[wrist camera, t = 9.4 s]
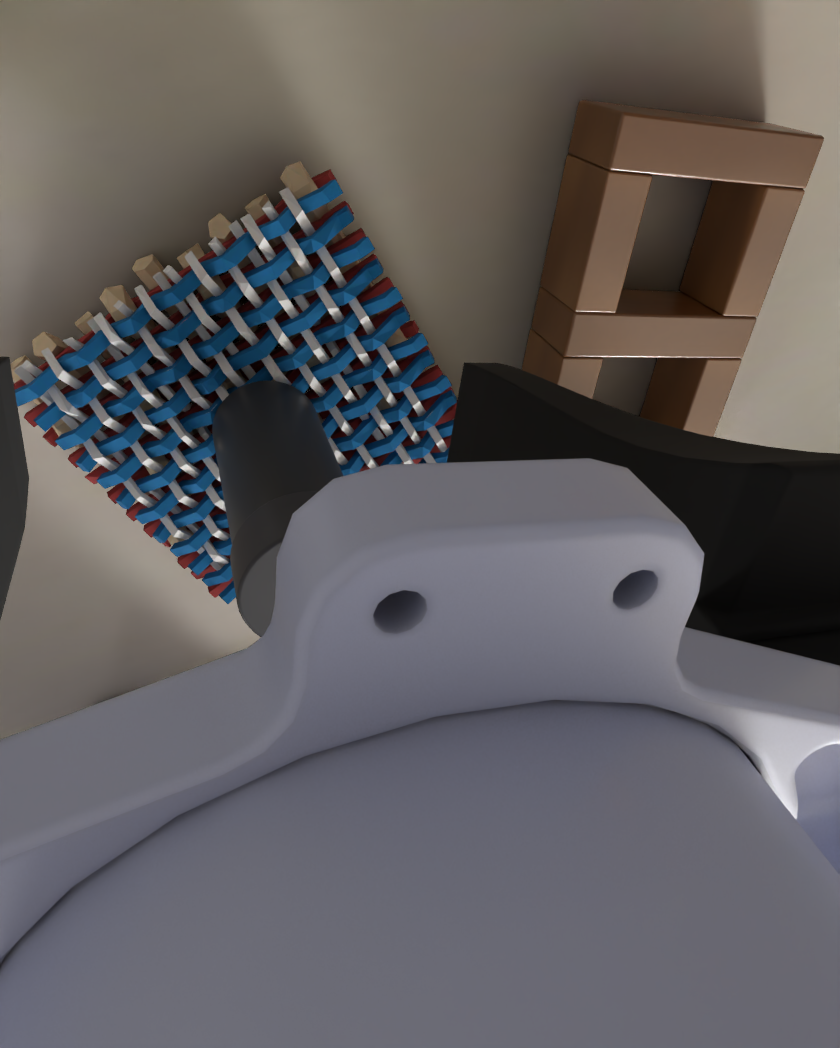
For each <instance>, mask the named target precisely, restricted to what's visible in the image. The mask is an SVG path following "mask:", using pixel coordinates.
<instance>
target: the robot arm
mask: <svg viewBox="0 0 840 1048" xmlns="http://www.w3.org/2000/svg"><path fill="white" fill-rule="evenodd" d="M28 483H29V475H28V469H27V463H26V457H25V451H24V445H23V438H22V432H21V426H20V420H19V414H18V408H17V402H16V396H15V390H14V383H13V377H12V371H11V365H10V359H9V357H0V619H1V616H2V612H3V608H4V604H5V601H6V597H7V593H8V590H9V586H10V582H11V578H12V575H13V571H14V567H15V564H16V560H17V556H18V552H19V548H20V544H21V540H22V536H23V532H24V528H25V519H26V509H27V497H28ZM0 1048H840V454H834V453H817V452H806V451H798V450H790V449H781V448H773V447H766V446H760V445H753V444H747V443H741V442H736V441H731V440H726V439H721V438H716V437H711V436H706V435H702V434H698V433H694V432H690V431H686V430H682V429H679V428H675V427H672V426H668V425H665V424H661V423H658V422H654V421H651V420H648V419H645V418H642V417H639V416H636V415H633V414H630V413H627V412H625V411H622V410H619V409H617V408H614V407H611V406H609V405H606V404H603V403H601V402H598V401H596V400H593V399H591V398H588V397H586V396H584V395H581V394H579V393H576V392H574V391H572V390H569V389H567V388H565V387H562V386H560V385H558V384H555V383H553V382H550V381H548V380H546V379H543V378H541V377H538V376H536V375H533V374H531V373H528V372H526V371H523V370H520V369H517V368H514V367H511V366H508V365H504V364H498V363H464V366H463V372H462V377H461V383H460V389H459V395H458V400H457V406H456V412H455V418H454V423H453V429H452V435H451V441H450V446H449V452H448V458H447V463H423V464H391V465H383V466H380V467H376V468H372V469H368V470H365V471H361V472H357V473H353V474H350V475H346V476H342V477H338V478H335V479H333V480H332V481H330V482H329V483H328V484H327V485H326V486H325V487H323V488H322V489H321V490H320V491H319V492H318V493H316V494H315V495H314V496H313V497H312V498H311V499H309V500H308V501H307V502H306V503H305V504H303V505H302V506H301V507H300V508H299V509H298V510H296V511H295V512H294V513H293V514H292V517H291V520H290V523H289V525H288V528H287V531H286V534H285V536H284V539H283V542H282V544H281V547H280V550H279V553H278V555H277V565H276V589H275V605H274V610H273V614H272V619H271V623H270V625H269V627H268V628H267V630H266V632H265V634H264V635H263V636H262V637H261V638H260V639H259V640H257V641H256V642H255V643H254V644H252V645H251V646H250V647H248V648H247V649H244V650H241V651H239V652H236V653H233V654H230V655H228V656H225V657H222V658H220V659H217V660H214V661H212V662H209V663H206V664H203V665H201V666H198V667H195V668H193V669H190V670H187V671H184V672H182V673H179V674H176V675H174V676H171V677H168V678H165V679H163V680H160V681H157V682H155V683H152V684H149V685H147V686H144V687H141V688H138V689H136V690H133V691H130V692H128V693H125V694H122V695H119V696H117V697H114V698H111V699H109V700H106V701H103V702H100V703H98V704H95V705H92V706H90V707H87V708H84V709H82V710H79V711H76V712H73V713H71V714H68V715H65V716H63V717H60V718H57V719H54V720H52V721H49V722H46V723H44V724H41V725H38V726H35V727H33V728H30V729H27V730H25V731H22V732H19V733H17V734H14V735H11V736H8V737H6V738H3V739H0Z"/></svg>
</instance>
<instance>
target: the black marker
mask: <svg viewBox="0 0 840 1048" xmlns="http://www.w3.org/2000/svg"><path fill="white" fill-rule="evenodd" d="M212 434H213V441H214V446H215V452H216V458H217V463H218V469H219V475H220V480H221V486H222V491H223V497H224V503H225V508H226V514H227V520H228V525H229V531H230V537H231V542H232V547H231V554H230V561H231V569H232V575H233V581H234V587H235V593H236V599H237V605H238V608H239V612H240V614H241V616H242V618H243V620H244V621H245V623H246V624H247V625H248V626H249V627H250V629H251V630H252V631H253V632H255V633H256V634H257V635H259V636H260V637H262V636H263V635H264V634H265V632H266V630H267V628H268V627H269V625H270V623H271V619H272V614H273V610H274V605H275V589H276V565H277V555H278V553H279V550H280V547H281V544H282V542H283V539H284V536H285V534H286V531H287V528H288V525H289V523H290V520H291V517H292V514H293V513H294V512H295V511H296V510H298V509H299V508H300V507H301V506H302V505H303V504H305V503H306V502H307V501H308V500H309V499H311V498H312V497H313V496H314V495H315V494H316V493H318V492H319V491H320V490H321V489H322V488H323V487H325V486H326V485H327V484H328V483H329V482H330V481H332V480H333V479H335V478H338V477H342V476H343V474H342V471H341V469H340V466H339V464H338V462H337V459H336V457H335V455H334V452H333V450H332V448H331V445H330V443H329V440H328V438H327V436H326V433H325V431H324V429H323V426H322V424H321V422H320V419H319V417H318V414H317V412H316V410H315V408H314V406H313V404H312V402H311V401H310V400H309V398H308V397H307V396H306V395H305V394H304V393H302V392H301V391H300V390H298V389H297V388H295V387H293V386H291V385H289V384H286V383H282V382H278V381H257V382H252V383H249V384H246V385H244V386H242V387H240V388H238V389H236V390H235V391H233V392H232V393H231V394H229V395H228V396H227V397H226V398H225V399H224V400H223V402H222V403H221V404H220V406H219V408H218V409H217V411H216V414H215V416H214V420H213V425H212Z"/></svg>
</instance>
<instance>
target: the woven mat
mask: <svg viewBox="0 0 840 1048" xmlns="http://www.w3.org/2000/svg"><path fill="white" fill-rule="evenodd" d="M280 179H281V180H282V182H283V183H284V185H285V186H286V188H285V189H283V190H282V191H280V192H279V193H280V195H281V196H282V198H283V199H282V200H281V201H280V202H279V203H278V204H277V205H276V206H275V207H273V205H272V204H271V202H270V200H269V199H268V197H267V196H266V194H265V195H262V196H260V197H258V198H256V199H254V200H252V201H251V202H250V203H249V204H248V205H247V206H246V207H245V209H246V211H247V213H248V215H246V216H244V217H242V218H240V219H241V221H242V222H243V224H244V225H245V228H244V229H242V227H241V226H240V224H239V223H238V221H237V220H235V221H234V222H233V223H231V222H229V221H228V220H227V219H226V218H225V217H224V216H223V215H222V214H221V213H219V214H218V215H216V216H215V217H214V218H212V219H211V220H210V221H209V222H208V226H209V233H210V237H211V238H212V241H211V242H210V243H209V244H208V245H209V246H210V247H211V248H212V251H210V252H209V253H207V254H206V255H205V254H204V252H203V250H202V249H201V247H200V246H199V244H196V245H194V246H193V247H191V248H190V249H188V250H187V251H185V252H184V253H183V254H181V255H180V256H179V257H177V259H178V261H179V262H180V264H181V266H182V267H183V270H182V271H180V272H178V273H177V272H176V271H175V270H174V269H173V268H172V267H171V266H169V265H168V266H167V267H166V268H165V269H164V268H163V267H162V266H161V264H160V263H159V262H158V260H157V259H156V258H155V257H154V255H153V254H152V255H149V256H146V257H143V258H140V259H137V260H136V262H135V264H134V266H133V268H132V269H133V271H134V272H135V273H136V274H137V276H138V277H139V278H140V279H141V280H142V282H143V283H144V284H145V285H146V287H147V288H148V289H149V290H150V291H149V292H146V291H145V289H144V288H143V286H142V285H140V286H138V287H136V288H134V289H135V292H136V294H137V295H138V296H137V297H134V298H132V299H131V298H130V296H129V295H128V293H127V292H126V290H125V289H124V287H123V285H118V286H113V287H107V288H105V289H104V291H103V293H102V295H101V296H100V299H101V301H102V302H103V304H104V305H105V307H106V308H107V310H108V311H109V314H108V315H107V316H106V317H104V316H103V315H102V314H101V312H100V313H99V314H97V315H96V316H95V317H94V316H93V315H92V314H91V313H90V312H89V311H88V312H87V313H86V314H84V315H83V316H82V317H81V318H80V319H79V320H77V321H76V322H75V325H76V326H77V327H78V328H79V329H80V331H81V332H82V333H83V334H84V336H83V337H81V338H80V339H78V340H76V339H74V338H72V337H71V338H68V339H65V340H61V339H60V338H58V337H55V336H53V335H51V334H48V333H46V332H42V333H41V334H40V335H38V336H37V337H36V338H34V339H33V340H32V344H33V351H34V355H35V356H37V357H39V358H41V359H43V360H45V361H46V362H45V363H43V364H42V365H41V366H39V367H38V368H37V367H36V366H35V365H34V364H33V363H32V362H31V361H30V360H29V358H28V357H27V356H26V355H25V356H22V357H20V358H17V359H16V360H15V361H14V362H13V363H11V364H10V365H11V371H12V377H13V380H14V381H15V382H16V383H14V390H15V396H16V402H17V406H20V405H23V404H25V403H27V402H30V401H32V400H33V401H34V402H35V403H36V404H37V405H38V406H36V407H34V408H33V409H31V410H30V411H28V412H27V413H26V414H25V416H24V418H25V419H26V420H27V421H28V422H29V423H30V424H31V425H32V426H33V427H35V426H37V425H39V426H40V427H41V428H42V429H43V430H44V431H45V432H46V431H47V430H48V429H49V428H50V427H51V426H52V427H51V428H50V429H49V430H48V431H47V432H46V434H45V435H44V436H43V438H45V439H46V440H47V441H48V442H49V443H50V444H51V445H52V446H54V447H56V446H57V445H59V446H60V447H61V448H62V449H63V450H66V449H69V448H71V447H74V446H76V447H78V448H79V449H78V450H76V451H75V452H73V453H72V454H70V455H69V458H68V460H69V461H70V462H71V463H72V464H73V465H74V466H75V467H76V468H77V467H80V468H81V469H82V470H83V471H86V472H90V471H91V470H92V469H93V467H94V466H95V465H96V464H97V463H99V464H100V465H101V466H99V467H98V468H97V469H95V470H94V471H92V472H91V473H89V474H88V475H87V476H85V478H87V479H88V480H89V481H91V482H92V483H93V484H96V483H99V484H100V485H101V486H103V487H104V488H105V489H106V488H108V487H111V486H114V485H116V486H115V487H113V488H112V489H111V490H110V491H108V492H107V493H108V497H109V498H110V499H111V500H112V501H113V502H114V503H115V504H116V503H118V504H119V505H120V506H121V507H122V508H124V509H127V512H126V515H127V516H128V517H129V518H130V519H131V520H133V521H135V520H138V521H140V522H141V523H142V524H145V523H147V524H145V525H144V531H145V532H146V533H147V534H148V535H149V536H150V537H154V538H155V539H156V540H157V541H159V542H160V543H163V544H164V545H165V546H167V547H170V546H171V545H173V546H172V547H171V549H170V551H171V552H172V553H173V554H174V555H176V556H177V557H178V556H180V557H178V563H179V564H180V565H181V566H182V567H183V568H184V569H185V568H187V567H189V568H190V569H191V570H192V572H191V574H192V575H193V576H194V577H195V578H196V579H200V578H203V577H204V578H203V579H202V581H203V582H204V583H205V584H206V585H207V586H208V590H209V593H210V594H211V595H212V596H214V597H217V596H218V595H219V596H220V597H221V598H222V599H223V600H224V601H225V602H226V603H227V604H229V603H230V602H231V601H232V600H233V599H234V598H235V597H236V593H235V587H234V581H233V575H232V569H231V561H230V554H231V547H232V542H231V537H230V531H229V525H228V520H227V514H226V508H225V503H224V497H223V491H222V486H221V480H220V475H219V469H218V463H217V458H216V452H215V446H214V441H213V434H212V425H213V420H214V416H215V414H216V411H217V409H218V408H219V406H220V404H221V403H222V402H223V400H224V399H225V398H226V397H227V396H228V395H229V394H231V393H232V392H233V391H235V390H236V389H238V388H240V387H242V386H244V385H246V384H249V383H252V382H257V381H278V382H282V383H286V384H289V385H291V386H293V387H295V388H297V389H298V390H300V391H301V392H302V393H304V394H305V395H306V396H307V397H308V398H309V400H310V401H311V402H312V404H313V406H314V408H315V410H316V412H317V414H318V417H319V419H320V422H321V424H322V426H323V429H324V431H325V433H326V436H327V438H328V440H329V443H330V445H331V448H332V450H333V452H334V455H335V457H336V459H337V462H338V464H339V466H340V469H341V471H342V474H343V476H346V475H350V474H353V473H357V472H361V471H365V470H368V469H372V468H376V467H380V466H383V465H391V464H423V463H447V458H448V452H449V446H450V441H451V435H452V429H453V423H454V420H453V419H454V418H455V412H456V406H457V400H458V399H457V398H456V396H455V394H454V392H453V390H452V388H451V386H452V385H451V383H450V381H449V380H448V378H447V376H445V375H443V373H442V371H441V370H440V368H439V366H438V365H435V366H434V367H432V368H430V369H428V370H427V371H425V372H424V369H425V368H426V367H428V366H430V365H432V364H434V357H433V355H432V353H431V351H430V349H429V348H428V346H427V345H428V342H427V340H426V339H425V337H424V335H423V334H422V333H418V331H419V328H418V326H417V324H416V323H415V321H414V320H413V321H410V322H407V321H409V320H410V315H409V312H408V311H407V309H406V307H405V305H404V304H403V303H402V301H400V300H401V299H403V298H402V296H401V294H400V293H399V291H398V289H397V288H396V287H394V286H393V284H392V282H391V280H390V279H389V278H388V277H386V278H384V279H383V280H381V281H380V282H378V283H377V284H375V285H373V283H372V281H373V280H374V279H375V278H376V277H378V276H379V275H381V274H382V273H383V267H382V265H381V264H380V262H379V260H378V258H377V256H376V255H375V254H372V255H371V256H369V257H368V258H366V259H364V260H363V261H361V262H360V261H359V259H361V258H363V257H364V256H366V255H367V254H369V253H370V252H371V251H373V250H374V249H375V248H374V247H373V245H372V243H371V241H370V240H369V238H368V237H366V235H365V234H364V232H363V230H362V229H361V228H360V229H358V230H357V231H355V232H353V233H351V234H350V235H348V236H346V237H345V235H344V233H343V232H342V229H343V228H344V227H346V226H347V225H348V224H350V223H351V222H352V221H353V220H354V216H353V214H354V213H353V212H352V210H351V208H350V206H349V205H348V203H347V202H346V201H343V202H342V203H340V204H339V205H337V206H335V207H334V208H332V209H331V210H329V208H328V206H327V203H329V202H331V201H332V200H334V199H335V198H337V197H338V196H340V195H341V194H343V192H342V190H341V188H340V186H339V185H338V183H337V180H336V178H335V177H334V175H333V173H332V172H331V170H327V171H325V172H323V173H321V174H319V175H317V176H315V177H312V178H311V177H310V176H309V174H308V173H307V171H306V169H305V168H304V166H303V165H302V163H301V162H300V161H299V162H297V163H294V164H291V165H288V166H286V168H285V170H284V172H283V174H282V175H281V177H280ZM296 221H297V222H298V223H299V225H300V227H301V228H302V229H301V230H299V231H298V232H296V233H295V234H293V235H292V234H291V233H290V231H289V229H290V228H291V227H292V226H293V225H294V224H295V222H296ZM257 245H258V247H259V248H260V250H261V251H262V253H263V255H262V256H260V255H259V253H258V252H257V250H256V249H255V247H256V246H257ZM315 251H316V252H317V253H315V254H312V255H310V256H307V257H306V256H305V255H308V254H311V253H314V252H315ZM226 271H229V273H228V274H225V275H222V276H220V277H219V276H218V274H221V273H224V272H226ZM330 276H332V277H333V279H334V280H332V281H331V282H329V283H328V284H326V285H325V286H324V285H323V284H324V283H326V281H327V280H328V278H329V277H330ZM196 288H197V290H198V291H199V293H198V294H197V295H196V296H195V295H194V294H193V291H194V290H195V289H196ZM243 295H245V296H246V297H247V298H248V300H249V301H248V302H247V303H245V304H244V305H241V303H240V302H239V300H240V299H241V298H242V296H243ZM291 298H294V299H295V301H296V302H297V304H296V305H294V306H293V304H292V303H291V302H290V300H291ZM399 301H400V302H399ZM397 302H399V303H397ZM396 303H397V304H396ZM394 304H395V305H394ZM341 305H343V306H342V307H340V308H339V309H338V307H337V306H341ZM393 305H394V306H393ZM390 307H391V308H390ZM387 308H389V309H387ZM164 309H165V310H166V311H167V312H168V313H169V315H170V317H169V318H167V317H166V316H165V315H164V314H163V313H162V312H161V311H162V310H164ZM215 314H217V315H218V316H219V317H220V318H221V320H219V321H218V322H216V323H215V322H214V321H213V320H212V319H211V318H210V317H209V316H211V315H215ZM152 318H153V319H154V320H156V321H157V322H158V323H159V325H158V326H157V325H156V324H155V323H154V322H153V321H152ZM264 322H266V324H265V325H264V326H262V327H261V328H258V327H257V325H259V324H261V323H264ZM406 322H407V323H406ZM360 323H361V324H362V325H361V326H360V327H358V326H359V324H360ZM357 327H358V328H357ZM127 336H131V337H133V338H134V339H135V340H136V341H134V342H133V343H131V344H128V343H127V342H126V341H124V340H123V339H122V338H124V337H127ZM412 336H413V337H412ZM186 337H188V338H189V339H190V340H189V341H188V342H187V340H186V339H185V338H186ZM237 337H238V339H239V340H240V341H239V342H238V343H236V344H235V345H234V344H233V342H232V341H233V340H234V339H235V338H237ZM408 337H412V338H410V339H408V340H407V339H406V338H408ZM63 341H64V342H65V343H66V344H68V345H69V346H67V345H66V344H65V343H64V342H63ZM278 343H280V345H281V347H279V348H278V349H276V350H274V348H275V347H276V345H277V344H278ZM177 344H178V346H179V348H177V349H176V348H175V347H174V345H177ZM100 354H101V355H102V356H103V357H104V359H105V361H104V362H102V363H101V364H100V363H99V362H98V360H97V359H96V358H97V357H98V356H99V355H100ZM152 356H153V357H154V359H155V360H156V361H157V362H156V363H155V364H153V365H152V366H150V365H149V363H148V362H147V361H148V360H149V359H150V358H151V357H152ZM331 357H333V358H331ZM330 358H331V359H330ZM202 359H206V360H207V363H206V364H204V363H203V362H202V361H201V360H202ZM87 365H88V366H89V367H90V368H89V367H88V366H87ZM193 367H194V368H196V369H197V370H195V371H194V370H193V369H192V368H193ZM387 367H388V368H387ZM120 378H122V379H123V381H124V382H125V383H124V384H123V385H121V386H120V385H119V384H117V383H116V382H115V380H117V379H120ZM59 379H60V380H61V381H63V382H65V383H66V384H68V386H66V387H65V388H63V389H62V390H59V389H58V388H57V386H56V385H55V383H56V382H57V381H58V380H59ZM173 382H175V383H173ZM170 383H172V384H170ZM168 384H169V385H168ZM309 387H311V388H312V390H310V391H308V392H307V393H306V390H307V389H308V388H309ZM351 387H354V389H353V390H350V388H351ZM156 388H157V389H156ZM400 398H401V400H400V401H399V402H397V400H396V399H400ZM190 402H192V403H193V405H191V404H189V403H190ZM87 403H89V404H87ZM86 404H87V405H86ZM79 407H80V408H79ZM181 411H182V412H181ZM323 419H325V420H323ZM155 424H158V425H160V427H158V428H157V427H156V426H154V425H155ZM103 425H106V426H107V427H109V428H107V429H106V430H104V431H102V430H101V429H100V428H101V427H102V426H103ZM207 425H208V426H207ZM378 426H379V427H378ZM196 428H197V430H198V431H197V430H196ZM127 447H128V448H127ZM125 448H126V449H125ZM122 449H125V450H123V451H122ZM194 462H197V463H195V464H194V465H191V464H192V463H194ZM135 500H137V501H138V502H137V503H136V504H134V505H133V506H132V504H133V503H134V502H135ZM178 502H179V503H178ZM177 503H178V504H177Z"/></svg>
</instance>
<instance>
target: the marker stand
mask: <svg viewBox="0 0 840 1048" xmlns="http://www.w3.org/2000/svg"><path fill="white" fill-rule="evenodd" d="M823 141H824V137H822V136H821V135H817V134H812V133H808V132H804V131H800V130H795V129H791V128H787V127H783V126H778V125H774V124H770V123H763V122H755V121H747V120H739V119H731V118H723V117H715V116H707V115H699V114H691V113H684V112H676V111H668V110H660V109H652V108H644V107H636V106H628V105H620V104H612V103H604V102H596V101H588V100H581V101H579V104H578V108H577V113H576V118H575V123H574V127H573V132H572V137H571V141H570V146H569V155H567V158H566V163H565V168H564V172H563V177H562V182H561V187H560V191H559V196H558V201H557V205H556V210H555V215H554V220H553V224H552V229H551V234H550V239H549V243H548V248H547V253H546V257H545V262H544V267H543V272H542V276H541V281H540V285H541V286H542V287H540V288H539V293H538V297H537V302H536V307H535V312H534V316H533V321H532V329H530V333H529V337H528V342H527V347H526V352H525V356H524V361H523V366H522V370H523V371H526V372H528V373H531V374H533V375H536V376H538V377H541V378H543V379H546V380H548V381H550V382H553V383H555V384H558V385H560V386H562V387H565V388H567V389H569V390H572V391H574V392H576V393H579V394H581V395H584V396H586V397H588V398H591V399H593V395H594V391H595V388H596V384H597V380H598V377H599V373H600V369H601V365H602V362H603V358H602V357H658V359H657V362H656V365H655V369H654V372H653V375H652V378H651V382H650V385H649V388H648V391H647V394H646V398H645V401H644V404H643V407H642V410H641V414H640V417H642V418H645V419H648V420H651V421H654V422H658V423H661V424H665V425H668V426H672V427H675V428H679V429H682V430H686V431H690V432H694V433H698V434H702V435H706V436H711V437H713V435H714V433H715V430H716V427H717V425H718V422H719V419H720V417H721V414H722V411H723V409H724V406H725V403H726V401H727V398H728V395H729V393H730V390H731V387H732V385H733V382H734V379H735V377H736V374H737V371H738V369H739V366H740V363H741V359H740V358H742V357H743V354H744V352H745V349H746V346H747V344H748V341H749V338H750V336H751V333H752V330H753V328H754V325H755V322H756V316H758V315H759V312H760V310H761V307H762V304H763V302H764V299H765V296H766V294H767V291H768V288H769V286H770V283H771V280H772V278H773V275H774V272H775V270H776V267H777V264H778V262H779V259H780V256H781V254H782V251H783V248H784V246H785V243H786V240H787V237H788V235H789V232H790V229H791V227H792V224H793V221H794V219H795V216H796V213H797V211H798V208H799V205H800V203H801V200H802V197H803V195H804V190H803V188H805V187H806V186H807V183H808V181H809V178H810V175H811V173H812V170H813V167H814V165H815V162H816V159H817V157H818V154H819V151H820V149H821V146H822V143H823ZM652 175H661V176H671V177H682V178H693V179H703V180H713V183H712V186H711V189H710V192H709V195H708V199H707V202H706V205H705V208H704V212H703V215H702V218H701V221H700V224H699V228H698V231H697V234H696V237H695V240H694V244H693V247H692V250H691V253H690V257H689V260H688V263H687V266H686V269H685V273H684V276H683V279H682V282H681V285H680V291H681V292H676V291H651V290H625V289H622V287H623V284H624V280H625V276H626V273H627V269H628V265H629V261H630V258H631V254H632V250H633V247H634V243H635V239H636V236H637V232H638V228H639V224H640V221H641V217H642V213H643V210H644V206H645V202H646V199H647V195H648V191H649V187H650V184H651V180H652Z"/></svg>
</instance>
